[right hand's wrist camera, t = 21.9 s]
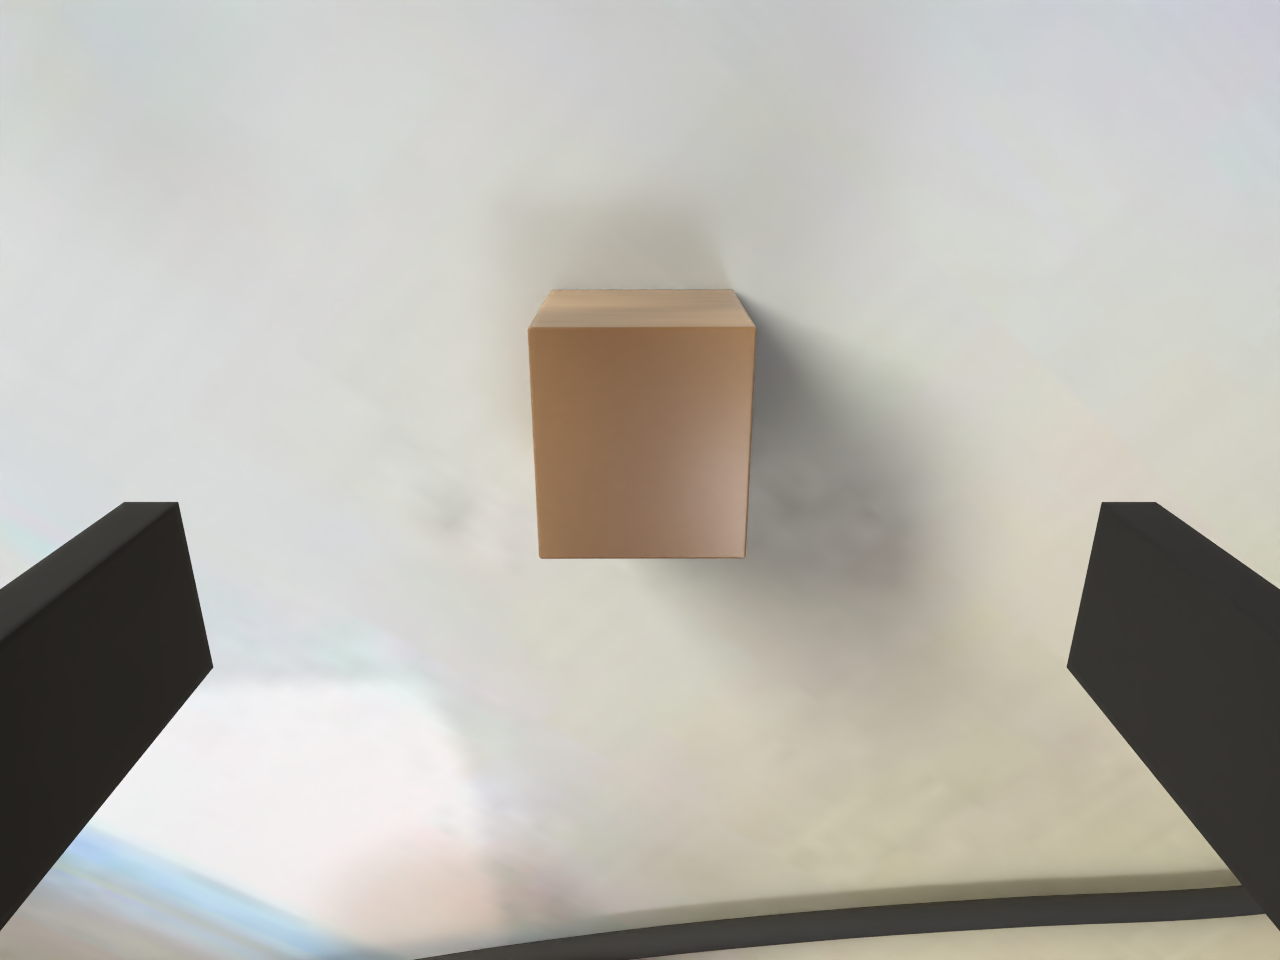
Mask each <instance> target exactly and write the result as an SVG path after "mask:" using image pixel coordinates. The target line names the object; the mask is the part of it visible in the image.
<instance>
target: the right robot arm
mask: <svg viewBox="0 0 1280 960" xmlns="http://www.w3.org/2000/svg"><path fill="white" fill-rule="evenodd" d="M212 668H213V664H212V659H211V654H210V650H209V645H208V640H207V635H206V631H205V626H204V621H203V617H202V612H201V607H200V603H199V598H198V593H197V588H196V584H195V579H194V574H193V570H192V565H191V560H190V556H189V551H188V546H187V541H186V537H185V532H184V527H183V523H182V518H181V513H180V509H179V504H178V502H124V503H122V504H121V505H119V506H118V507H117V508H115V509H114V510H112V511H111V512H110V513H108V514H107V515H105V516H104V517H102V518H101V519H100V520H98V521H97V522H95V523H94V524H93V525H91V526H90V527H88V528H87V529H85V530H84V531H83V532H81V533H80V534H78V535H77V536H75V537H74V538H73V539H71V540H70V541H68V542H67V543H66V544H64V545H63V546H61V547H60V548H58V549H57V550H56V551H54V552H53V553H51V554H50V555H48V556H47V557H46V558H44V559H43V560H41V561H40V562H39V563H37V564H36V565H34V566H33V567H31V568H30V569H29V570H27V571H26V572H24V573H23V574H21V575H20V576H19V577H17V578H16V579H14V580H13V581H12V582H10V583H9V584H7V585H6V586H4V587H3V588H2V589H0V931H1V929H2V928H3V927H4V926H5V924H6V923H7V922H8V921H9V919H10V918H11V917H12V916H13V915H14V913H15V912H16V911H17V910H18V908H19V907H20V906H21V905H22V903H23V902H24V901H25V900H26V898H27V897H28V896H29V895H30V893H31V892H32V891H33V890H34V889H35V887H36V886H37V885H38V884H39V882H40V881H41V880H42V879H43V877H44V876H45V875H46V874H47V872H48V871H49V870H50V869H51V867H52V866H53V865H54V864H55V863H56V861H57V860H58V859H59V858H60V856H61V855H62V854H63V853H64V851H65V850H66V849H67V848H68V846H69V845H70V844H71V843H72V841H73V840H74V839H75V838H76V837H77V835H78V834H79V833H80V832H81V830H82V829H83V828H84V827H85V825H86V824H87V823H88V822H89V820H90V819H91V818H92V817H93V816H94V814H95V813H96V812H97V811H98V809H99V808H100V807H101V806H102V804H103V803H104V802H105V801H106V799H107V798H108V797H109V796H110V794H111V793H112V792H113V791H114V790H115V788H116V787H117V786H118V785H119V783H120V782H121V781H122V780H123V778H124V777H125V776H126V775H127V773H128V772H129V771H130V770H131V768H132V767H133V766H134V765H135V764H136V762H137V761H138V760H139V759H140V757H141V756H142V755H143V754H144V752H145V751H146V750H147V749H148V747H149V746H150V745H151V744H152V742H153V741H154V740H155V739H156V738H157V736H158V735H159V734H160V733H161V731H162V730H163V729H164V728H165V726H166V725H167V724H168V723H169V721H170V720H171V719H172V718H173V716H174V715H175V714H176V713H177V712H178V710H179V709H180V708H181V707H182V705H183V704H184V703H185V702H186V700H187V699H188V698H189V697H190V695H191V694H192V693H193V692H194V690H195V689H196V688H197V687H198V686H199V684H200V683H201V682H202V681H203V679H204V678H205V677H206V676H207V674H208V673H209V672H210V671H211V669H212ZM1067 668H1068V669H1069V671H1070V672H1071V673H1072V674H1073V676H1074V677H1075V678H1076V679H1077V681H1078V682H1079V683H1080V684H1081V686H1082V687H1083V688H1084V689H1085V690H1086V692H1087V693H1088V694H1089V695H1090V697H1091V698H1092V699H1093V700H1094V702H1095V703H1096V704H1097V705H1098V707H1099V708H1100V709H1101V710H1102V712H1103V713H1104V714H1105V715H1106V716H1107V718H1108V719H1109V720H1110V721H1111V723H1112V724H1113V725H1114V726H1115V728H1116V729H1117V730H1118V731H1119V733H1120V734H1121V735H1122V736H1123V738H1124V739H1125V740H1126V741H1127V742H1128V744H1129V745H1130V746H1131V747H1132V749H1133V750H1134V751H1135V752H1136V754H1137V755H1138V756H1139V757H1140V759H1141V760H1142V761H1143V762H1144V764H1145V765H1146V766H1147V767H1148V768H1149V770H1150V771H1151V772H1152V773H1153V775H1154V776H1155V777H1156V778H1157V780H1158V781H1159V782H1160V783H1161V785H1162V786H1163V787H1164V788H1165V790H1166V791H1167V792H1168V793H1169V794H1170V796H1171V797H1172V798H1173V799H1174V801H1175V802H1176V803H1177V804H1178V806H1179V807H1180V808H1181V809H1182V811H1183V812H1184V813H1185V814H1186V816H1187V817H1188V818H1189V819H1190V820H1191V822H1192V823H1193V824H1194V825H1195V827H1196V828H1197V829H1198V830H1199V832H1200V833H1201V834H1202V835H1203V837H1204V838H1205V839H1206V840H1207V842H1208V843H1209V844H1210V845H1211V846H1212V848H1213V849H1214V850H1215V851H1216V853H1217V854H1218V855H1219V856H1220V858H1221V859H1222V860H1223V861H1224V863H1225V864H1226V865H1227V866H1228V867H1229V869H1230V870H1231V871H1232V872H1233V874H1234V875H1235V876H1236V877H1237V879H1238V880H1239V881H1240V882H1241V884H1242V885H1240V886H1229V887H1217V888H1204V889H1189V890H1172V891H1153V892H1130V893H1103V894H1076V895H1052V896H1032V897H1013V898H997V899H980V900H964V901H948V902H933V903H917V904H903V905H888V906H875V907H861V908H849V909H836V910H824V911H812V912H801V913H790V914H779V915H768V916H757V917H746V918H736V919H725V920H715V921H705V922H695V923H686V924H677V925H667V926H659V927H650V928H641V929H633V930H624V931H616V932H608V933H600V934H592V935H584V936H576V937H568V938H561V939H553V940H545V941H538V942H530V943H523V944H516V945H509V946H501V947H494V948H487V949H481V950H474V951H467V952H461V953H454V954H448V955H441V956H435V957H428V958H422V959H416V960H631V959H640V958H649V957H657V956H666V955H676V954H685V953H695V952H704V951H714V950H725V949H735V948H746V947H757V946H768V945H779V944H790V943H801V942H813V941H825V940H837V939H849V938H862V937H876V936H890V935H904V934H919V933H934V932H950V931H966V930H983V929H999V928H1016V927H1035V926H1056V925H1080V924H1107V923H1134V922H1158V921H1177V920H1194V919H1210V918H1223V917H1236V916H1247V915H1258V914H1266V915H1267V916H1268V917H1269V918H1270V919H1271V921H1272V922H1273V923H1274V924H1275V926H1276V927H1277V928H1278V929H1279V931H1280V589H1278V588H1277V587H1276V586H1274V585H1273V584H1271V583H1270V582H1268V581H1267V580H1266V579H1264V578H1263V577H1261V576H1260V575H1259V574H1257V573H1256V572H1254V571H1253V570H1251V569H1250V568H1249V567H1247V566H1246V565H1244V564H1243V563H1241V562H1240V561H1239V560H1237V559H1236V558H1234V557H1233V556H1232V555H1230V554H1229V553H1227V552H1226V551H1224V550H1223V549H1222V548H1220V547H1219V546H1217V545H1216V544H1214V543H1213V542H1212V541H1210V540H1209V539H1207V538H1206V537H1205V536H1203V535H1202V534H1200V533H1199V532H1197V531H1196V530H1195V529H1193V528H1192V527H1190V526H1189V525H1187V524H1186V523H1185V522H1183V521H1182V520H1180V519H1179V518H1178V517H1176V516H1175V515H1173V514H1172V513H1170V512H1169V511H1168V510H1166V509H1165V508H1163V507H1162V506H1161V505H1159V504H1158V503H1156V502H1102V504H1101V509H1100V513H1099V518H1098V523H1097V527H1096V532H1095V537H1094V541H1093V546H1092V551H1091V556H1090V560H1089V565H1088V570H1087V574H1086V579H1085V584H1084V588H1083V593H1082V598H1081V603H1080V607H1079V612H1078V617H1077V621H1076V626H1075V631H1074V635H1073V640H1072V645H1071V650H1070V654H1069V659H1068V664H1067Z"/></svg>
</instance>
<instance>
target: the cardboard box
mask: <svg viewBox="0 0 1280 960" xmlns="http://www.w3.org/2000/svg"><path fill="white" fill-rule="evenodd" d="M756 332H757V329H756V327H755V325H754V323H753V322H752V320H751V318H750V317H749V315H748V314H747V312H746V310H745V309H744V307H743V305H742V304H741V302H740V300H739V299H738V297H737V296H736V294H735V292H734V291H733V290H551V291H550V293H549V294H548V296H547V298H546V299H545V301H544V303H543V304H542V306H541V308H540V309H539V311H538V313H537V314H536V316H535V318H534V319H533V321H532V323H531V324H530V326H529V328H528V343H529V363H530V383H531V403H532V423H533V443H534V463H535V483H536V503H537V523H538V543H539V557H540V558H541V559H565V558H745V557H746V542H747V521H748V500H749V479H750V458H751V437H752V416H753V395H754V374H755V353H756Z"/></svg>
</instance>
